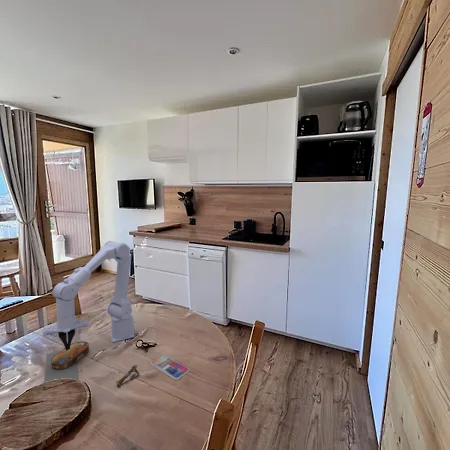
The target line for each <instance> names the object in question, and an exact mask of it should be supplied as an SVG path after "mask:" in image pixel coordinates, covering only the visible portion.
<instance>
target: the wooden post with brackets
mask: <svg viewBox="0 0 450 450" xmlns="http://www.w3.org/2000/svg"><path fill="white" fill-rule="evenodd" d="M133 373H134V374H133ZM136 375H140V373H139V370H138V364H134V365H132V366H131V369H129V370H128V371H127V372H126V373H125V374H124V376H122V377H121V378H120V379H119V380H116V381H115V383H116V385H118V386H119V388H121V387H122V384H123V383H124V381H125V380H126V379H128V378H129V377H130V378H129V380H130V381H131V380H133V379H134V378H136Z"/></svg>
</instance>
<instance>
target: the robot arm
mask: <svg viewBox="0 0 450 450" xmlns="http://www.w3.org/2000/svg"><path fill="white" fill-rule="evenodd" d="M130 250H131V248H130V246H128V244H126V243H124V242H117V241H116V242H115V241H111V240H108V241H106V242H105V243H104V244H103V245H101V247H100V249H99V250H98V252H97V253H96V254H95V255H94V256H93V257H92V258H91V259H90V260H89V261H88V262H87V263H86V264H85V265H84V266H80V267H78V268H75V269H74V270H73V272H72V273H71V274H70V275H69V276H68V277H67V278H65V279H63V281H61V282H59V283H57V284H56V285H55V286H54V288H53V290H52V291H51V294H52V296H53V297H54V298H55V302H56V304H55V305H56V307H55V308H56V325H54V326H50V327H47V328H44V329H42V335H43V336H42V337H43V338H45V337H47V336H49V335H50V336H51V335H55V334H57V335H58V338H59V339H60V340H61V342H62V343H63V346H64V348H65V349H66V350H70V345H71V344H72V341H73V339H74V337H75V334H76V330H77V329H80V328H89V327H90V324H89V323H90V322H89V319H86V320H77V321H76V309H75V306H76V305H75V298H76V297H77V294H78V292H79V290H80V288H81V287H82V286H83V285H84V284H85V283H86V282H87V281H88V280H89V279H90V278H91V275H92V272H94V271H95V269H97V268H98V267H99V266H101V265H102V264H103V263H104V262H105V261H106V260H112V259H113V260H115V261H116V276H115V283H114V284H115V286H114V293H113V294H114V296H113V297H112V298H111V299H110V300H109V301H110V302H109V305H108V306H107V314H108V315H109V316H110V319H111V320H110V321H111V332H110V333H109V335H110V339H111V342H112V343H116V342H119V341H120V342H121V341H122V340H123V341H124V340H128V339H132V338H135V336H136V335H135V320H134V316H133V314H132V313H133V311H132V310H133V309H132V301H131V300H130V299H129V298H128V292H129V280H130V271H131V261H132V259H131V257H132V256H131V254H130Z"/></svg>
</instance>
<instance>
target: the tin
mask: <svg viewBox="0 0 450 450" xmlns="http://www.w3.org/2000/svg"><path fill="white" fill-rule="evenodd" d="M89 345H90V344H89V342H87V341H82V340H80V341H76V342H71V345H70V350H66V349H65V347H64V348H63V349H62V350H59V351H60V352H59V353H58V354H56V355H55V356H53V357H52V359H51V363H52V368H54V369H65V368H68V367H70V366H72V365H73V364H74V363H76V362H78V361H79V360H80V359H82V358H83V357H84V356H86V354H87V353H88V352H89V349H90V347H89Z"/></svg>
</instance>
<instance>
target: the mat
mask: <svg viewBox="0 0 450 450" xmlns="http://www.w3.org/2000/svg"><path fill="white" fill-rule="evenodd" d="M60 351H61V350H59V351H55V352H51V353H47V354H46V357H45V358H46V359H45V371H44V380H43V381H44V382H46V381H50V380H54V379H61V378H72V379H78V380H79V375H78V374H79V373H78V363H77V362H78V361H77V362H76V363H74V364H73V365H72V366H70V367H68V368H65V369H54V368H52V363H51V359H52V357H53V356H55V355H56V354H58V353H59V352H60ZM44 382H43V383H44Z"/></svg>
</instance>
